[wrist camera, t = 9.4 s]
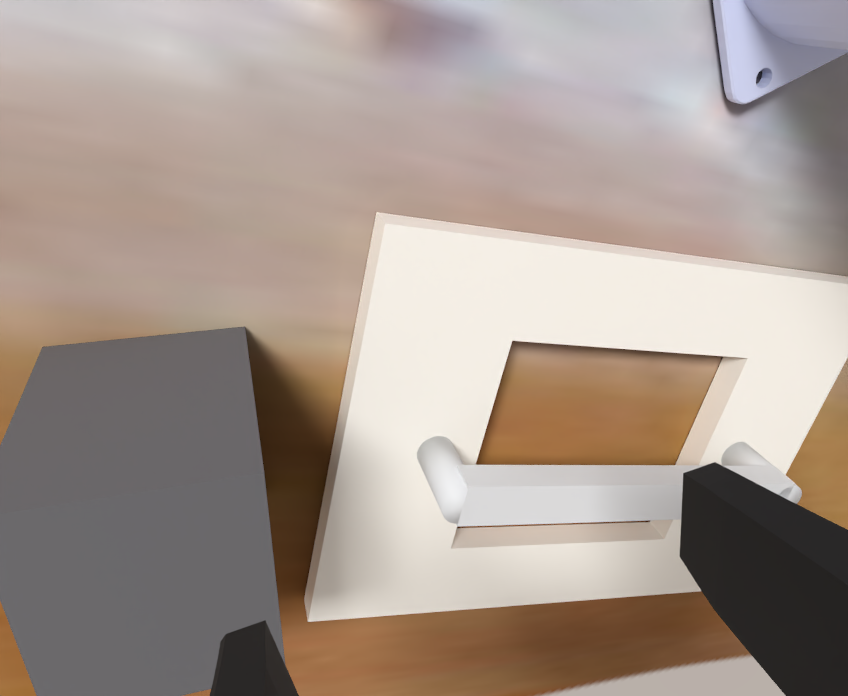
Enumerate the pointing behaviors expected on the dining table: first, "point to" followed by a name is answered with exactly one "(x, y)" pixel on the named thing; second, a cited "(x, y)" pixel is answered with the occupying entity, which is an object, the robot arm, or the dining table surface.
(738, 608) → the robot arm
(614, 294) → the cream frame with handle
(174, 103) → the dining table surface
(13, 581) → the notched grey block
